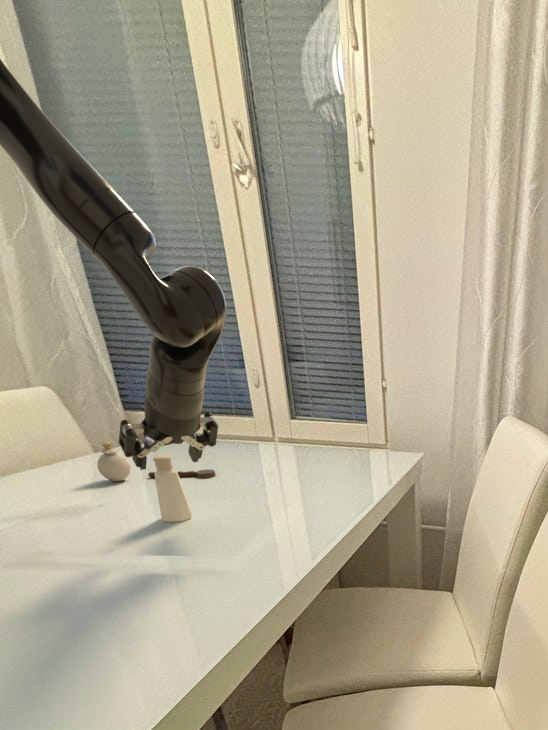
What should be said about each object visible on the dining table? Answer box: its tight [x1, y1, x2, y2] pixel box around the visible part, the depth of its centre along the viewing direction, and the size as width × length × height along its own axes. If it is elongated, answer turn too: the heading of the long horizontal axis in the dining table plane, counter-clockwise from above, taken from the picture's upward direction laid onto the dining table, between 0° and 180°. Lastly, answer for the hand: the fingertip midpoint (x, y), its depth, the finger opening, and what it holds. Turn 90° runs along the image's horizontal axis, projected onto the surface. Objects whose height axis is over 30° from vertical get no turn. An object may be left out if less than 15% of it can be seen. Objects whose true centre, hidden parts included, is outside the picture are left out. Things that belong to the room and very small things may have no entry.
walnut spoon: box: [147, 469, 217, 479], centre depth 126 cm, size 14×4×1 cm, turn 104°
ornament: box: [96, 432, 131, 482], centre depth 120 cm, size 6×7×10 cm
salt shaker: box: [152, 454, 194, 523], centre depth 99 cm, size 5×5×11 cm
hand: (167, 461), depth 94 cm, fingers open, 8 cm apart
